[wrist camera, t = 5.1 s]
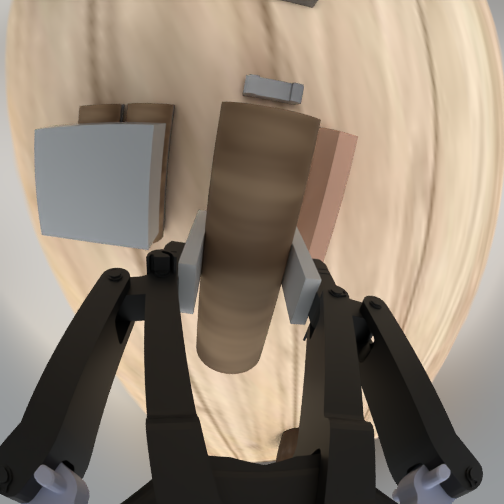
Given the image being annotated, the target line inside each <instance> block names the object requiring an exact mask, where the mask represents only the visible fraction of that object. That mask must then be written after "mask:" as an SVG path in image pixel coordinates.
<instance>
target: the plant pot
mask: <svg viewBox="0 0 504 504" xmlns="http://www.w3.org/2000/svg"><path fill="white" fill-rule="evenodd" d="M298 433H299V428H294V429H290V430H287V431H285V432H284V433H283V435H282V438H281V441H280V445H279V449H278V453H277V458H276V462H279V461H282V460H286V459H289V458H292V457H293V455H294V453H295V450H296V447H297V441H298Z"/></svg>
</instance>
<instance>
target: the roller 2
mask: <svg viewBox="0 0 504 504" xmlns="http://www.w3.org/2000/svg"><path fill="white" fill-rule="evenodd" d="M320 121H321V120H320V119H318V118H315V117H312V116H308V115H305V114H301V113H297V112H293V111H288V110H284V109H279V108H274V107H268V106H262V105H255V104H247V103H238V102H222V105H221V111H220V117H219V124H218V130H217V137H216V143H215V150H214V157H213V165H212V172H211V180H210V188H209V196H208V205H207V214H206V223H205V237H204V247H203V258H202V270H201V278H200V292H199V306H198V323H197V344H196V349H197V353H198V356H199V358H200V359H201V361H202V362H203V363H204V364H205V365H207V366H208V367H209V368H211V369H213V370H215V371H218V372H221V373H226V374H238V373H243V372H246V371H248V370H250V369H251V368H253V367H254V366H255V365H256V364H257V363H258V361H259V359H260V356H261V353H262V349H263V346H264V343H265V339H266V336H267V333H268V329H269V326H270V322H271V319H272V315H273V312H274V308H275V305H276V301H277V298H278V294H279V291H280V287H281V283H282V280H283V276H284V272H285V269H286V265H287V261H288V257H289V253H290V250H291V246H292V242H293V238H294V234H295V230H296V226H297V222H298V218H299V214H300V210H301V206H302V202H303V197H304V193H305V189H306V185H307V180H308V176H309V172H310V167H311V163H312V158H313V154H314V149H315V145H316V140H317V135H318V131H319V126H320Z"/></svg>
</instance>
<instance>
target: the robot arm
mask: <svg viewBox="0 0 504 504" xmlns="http://www.w3.org/2000/svg"><path fill="white" fill-rule="evenodd" d="M206 214H207V211H206V210H198V213H197V215H196V218H195V220H194V223H193V225H192V228H191V230H190V233H189V236H188V238H187V241H186V243H182V242H174V241H171V242H170V243H168V244H167V245H166V246H165V248H164V250H163V249H160V250H154V251H151V252H150V253H148V254H147V256H146V262H147V275H145V276H140V277H130V274H129V272H128V271H127V270H125V269H122V268H112V269H109V270H107V271H105V272H104V273H103V274H102V275H101V277H100V278H99V280H98V281H97V282H96V284H95V285H94V287H93V288H92V290H91V291H90V293H89V294H88V296H87V297H86V299H85V300H84V302H83V304H82V305H81V307H80V308H79V310H78V311H77V313H76V315H75V316H74V318H73V320H72V321H71V323H70V325H69V326H68V328H67V330H66V331H65V333H64V335H63V337H62V338H61V340H60V342H59V344H58V345H57V347H56V349H55V351H54V353H53V354H52V356H51V358H50V360H49V362H48V364H47V366H46V368H45V370H44V372H43V374H42V376H41V378H40V380H39V382H38V384H37V386H36V388H35V391H34V393H33V395H32V397H31V399H30V401H29V404H28V406H27V408H26V411H25V413H24V416H23V418H22V421H21V423H20V424H19V425H18V426H17V427H16V428H15V429H14V430H13V432H12V433H11V434H10V435H9V436H8V437H7V439H6V440H5V441H4V442H3V443H2V445H1V446H0V494H2V495H4V496H6V497H8V498H10V499H12V500H15V501H17V502H19V503H21V504H88V500H89V490H88V487H87V485H86V483H85V482H84V481H83V480H82V478H83V477H84V474H85V472H86V470H87V468H88V465H89V462H90V458H91V455H92V451H93V447H94V443H95V439H96V436H97V432H98V429H99V425H100V421H101V418H102V415H103V411H104V408H105V405H106V402H107V398H108V395H109V392H110V389H111V386H112V383H113V380H114V377H115V374H116V371H117V368H118V366H119V363H120V360H121V357H122V355H123V352H124V349H125V346H126V344H127V341H128V339H129V336H130V333H131V331H132V328H133V326H134V323H135V321H142V320H145V324H144V366H145V392H146V408H147V418H146V434H147V443H148V452H149V459H150V467H151V473H152V480H150V481H149V482H148V483H147V484H146V485H144V486H143V487H142V488H140V489H139V490H138V491H137V492H135V493H134V494H133V495H131V496H130V497H129V498H128V499H126V500H125V501H123V502H122V503H121V504H398V503H396V502H395V501H397V502H400V504H452V502H453V501H454V500H455V499H457V498H459V497H461V496H463V495H465V494H467V493H469V492H471V491H473V490H475V489H476V488H477V487H478V486H479V485H480V483H481V481H482V477H483V471H482V467H481V465H480V463H479V462H478V461H477V460H476V458H475V457H474V456H473V454H472V453H471V452H470V451H469V450H468V448H467V447H466V446H465V445H464V444H463V442H462V441H461V440H460V438H459V437H458V436H457V435H456V433H455V431H454V429H453V427H452V424H451V422H450V420H449V418H448V415H447V413H446V411H445V409H444V407H443V405H442V403H441V401H440V399H439V397H438V395H437V393H436V391H435V389H434V387H433V385H432V383H431V381H430V379H429V377H428V375H427V373H426V371H425V370H424V368H423V366H422V364H421V362H420V360H419V359H418V357H417V355H416V353H415V351H414V350H413V348H412V346H411V344H410V343H409V341H408V339H407V338H406V336H405V334H404V333H403V331H402V329H401V328H400V326H399V324H398V323H397V321H396V319H395V318H394V316H393V315H392V313H391V311H390V310H389V308H388V307H387V305H386V304H385V303H384V301H382V300H381V299H380V298H377V297H375V296H366V297H365V298H364V300H363V302H358V301H355V300H352V299H349V295H348V293H347V292H346V291H345V290H344V289H343V288H341V287H339V286H336V284H335V282H334V280H333V278H332V276H331V275H330V272H329V271H328V268H327V266H326V264H324V263H323V262H322V261H321V260H320V259H313V258H311V255H310V253H309V251H308V249H307V247H306V245H305V243H304V240H303V238H302V236H301V234H300V232H299V230H298V228H297V226H296V230H295V234H294V238H293V242H292V246H291V250H290V253H289V257H288V261H287V265H286V269H285V272H284V276H283V280H282V283H281V284H282V288H283V292H284V297H285V301H286V306H287V310H288V314H289V319H290V323H291V324H303V325H305V323H306V321H307V318H308V316H309V319H310V324H309V327H308V329H307V332H306V334H305V336H304V339H303V341H305V340H306V338H307V345H306V360H305V373H304V385H303V396H302V406H301V416H300V424H299V433H298V441H297V447H296V450H295V453H294V455H293V457H292V458H289V459H286V460H282V461H279V462H275V463H272V464H268V465H261V464H256V463H251V462H247V461H243V460H239V459H235V458H231V457H218V456H208V454H207V450H206V445H205V441H204V437H203V433H202V428H201V424H200V420H199V417H198V416H197V414H196V410H195V405H194V399H193V394H192V389H191V383H190V377H189V371H188V365H187V359H186V352H185V345H184V338H183V330H182V323H181V314H180V312H182V313H189V314H193V312H194V307H195V302H196V297H197V292H198V287H199V282H200V277H201V270H202V258H203V247H204V237H205V223H206ZM372 336H374V342H372V340H371V338H372ZM361 386H362V389H363V392H364V395H365V398H366V400H367V403H368V406H369V409H370V412H371V415H372V418H373V421H374V424H375V427H376V430H377V433H378V436H379V439H380V443H381V446H382V449H383V452H384V456H385V459H386V462H387V465H388V468H389V470H390V473H391V475H392V477H393V479H394V481H395V482H396V484H397V485H398V487H397V489H395V490H394V492H393V494H392V496H393V499H394V500H392V499H391V498H389V497H388V496H387V495H385V494H384V493H382V492H381V491H380V490H378V489H377V488H376V487H375V486H376V485H375V484H376V483H375V480H376V479H375V478H376V475H375V444H374V429H373V425H372V424H371V422H366V421H365V420H364V416H363V402H362V390H361Z"/></svg>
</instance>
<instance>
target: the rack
mask: <svg viewBox="0 0 504 504" xmlns="http://www.w3.org/2000/svg"><path fill="white" fill-rule="evenodd" d="M283 1H287V2H292V3H296V4H300V5H304V6H308V7H313V6H314V5H315V3H316V2H317V1H318V0H283ZM303 90H304V86H303V84H298V83H287V82H282V81H278V80H272V79H267V78H261V77H260V76H258V75H252V74H250V75H246V80H245V86H244V91H243V96H250V97H256V98H262V99H268V100H273V101H278V102H283V103H288V104H293V105H296V104H301V100H302V95H303Z"/></svg>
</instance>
